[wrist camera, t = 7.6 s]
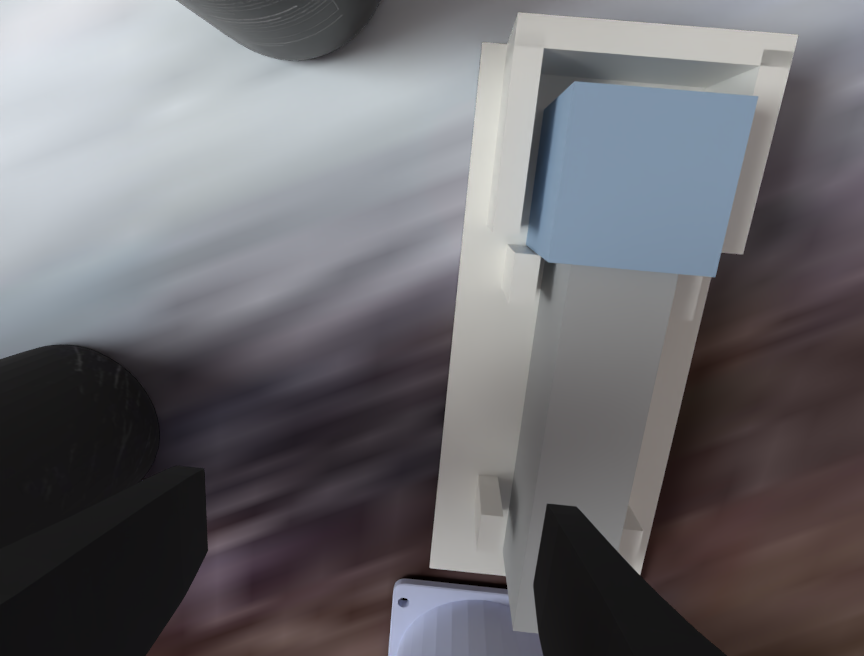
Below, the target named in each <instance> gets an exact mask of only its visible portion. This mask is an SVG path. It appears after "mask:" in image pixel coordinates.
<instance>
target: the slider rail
mask: <svg viewBox="0 0 864 656" xmlns="http://www.w3.org/2000/svg"><path fill="white" fill-rule="evenodd" d="M797 39H798V35H794V34H781V33H769V32H756V31H744V30H732V29H719V28H707V27H694V26H682V25H670V24H657V23H645V22H632V21H620V20H608V19H595V18H583V17H570V16H558V15H546V14H533V13H521V12H518V14H517V17H516V20H515V23H514V26H513V29H512V31H511V34H510V37H509V40H508V43H507V44H500V43H488V42H482V48H481V58H480V68H479V78H478V88H477V98H476V108H475V118H474V128H473V138H472V147H471V157H470V167H469V177H468V187H467V197H466V207H465V217H464V227H463V237H462V247H461V257H460V267H459V277H458V287H457V297H456V307H455V317H454V326H453V336H452V346H451V356H450V366H449V376H448V386H447V396H446V406H445V416H444V426H443V436H442V446H441V456H440V466H439V476H438V486H437V496H436V506H435V515H434V525H433V535H432V545H431V555H430V568H434V569H444V570H453V571H463V572H472V573H482V574H491V575H501V576H506V573H505V566H504V558H503V546H504V539H505V532H506V525H507V518H508V511H509V504H510V497H511V490H512V484H513V477H514V470H515V463H516V456H517V449H518V442H519V435H520V428H521V421H522V414H523V407H524V401H525V394H526V387H527V380H528V373H529V366H530V359H531V352H532V345H533V338H534V331H535V325H536V318H537V311H538V304H539V297H540V290H541V283H542V276H543V269H544V262H545V259H543V258H542V257H541V256H539V255H538V254H537V253H536V252H534V251H533V250H532V249H530V248H529V247H528V246H527V245H526V240H527V232H528V225H529V217H530V210H531V202H532V195H533V187H534V180H535V172H536V165H537V157H538V150H539V142H540V135H541V127H542V120H543V112H544V109H545V108H546V107H547V106H548V105H550V104H551V103H552V102H553V101H554V100H555V99H556V98H557V97H558V96H559V95H560V94H561V93H563V92H564V91H565V90H566V89H567V88H568V87H569V86H570V85H571V84H572V83H573V82H575V81H577V82H589V83H602V84H614V85H626V86H638V87H651V88H663V89H675V90H687V91H700V92H712V93H724V94H736V95H749V96H758V100H757V105H756V109H755V113H754V117H753V121H752V126H751V130H750V134H749V138H748V142H747V147H746V151H745V155H744V159H743V163H742V167H741V172H740V176H739V180H738V184H737V188H736V193H735V197H734V201H733V205H732V209H731V213H730V218H729V222H728V226H727V230H726V234H725V239H724V243H723V247H722V251H721V253H731V254H742V255H743V253H744V249H745V245H746V241H747V237H748V233H749V229H750V225H751V221H752V217H753V213H754V209H755V205H756V201H757V197H758V193H759V189H760V185H761V181H762V177H763V174H764V170H765V166H766V162H767V158H768V154H769V150H770V146H771V142H772V138H773V134H774V130H775V126H776V122H777V118H778V114H779V110H780V106H781V102H782V98H783V94H784V90H785V86H786V83H787V79H788V75H789V71H790V67H791V63H792V59H793V55H794V51H795V47H796V43H797ZM710 281H711V277H706V276H695V275H684V274H679V275H678V280H677V284H676V289H675V294H674V298H673V303H672V307H671V312H670V316H669V321H668V326H667V330H666V335H665V339H664V344H663V348H662V353H661V358H660V362H659V367H658V371H657V376H656V380H655V385H654V390H653V394H652V399H651V403H650V408H649V412H648V417H647V422H646V426H645V431H644V435H643V440H642V444H641V449H640V454H639V458H638V463H637V467H636V472H635V476H634V481H633V486H632V490H631V495H630V499H629V504H628V508H627V513H626V518H625V522H624V527H623V531H622V536H621V540H620V545H619V550H618V553H619V554H620V555H621V556H622V557H623V558H624V559H625V560H626V561H627V562H628V563H629V564H630V565H631V566H632V568H633V569H634V570H635V571H636V572H637V573H638V574H639V575H640V574H641V570H642V566H643V561H644V557H645V553H646V549H647V545H648V540H649V536H650V532H651V528H652V524H653V519H654V515H655V511H656V507H657V503H658V499H659V494H660V490H661V486H662V482H663V478H664V473H665V469H666V465H667V461H668V457H669V452H670V448H671V444H672V440H673V436H674V431H675V427H676V423H677V419H678V415H679V410H680V406H681V402H682V398H683V394H684V390H685V385H686V381H687V377H688V373H689V369H690V364H691V360H692V356H693V352H694V348H695V343H696V339H697V335H698V331H699V327H700V322H701V318H702V314H703V310H704V306H705V301H706V297H707V293H708V289H709V285H710Z"/></svg>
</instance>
